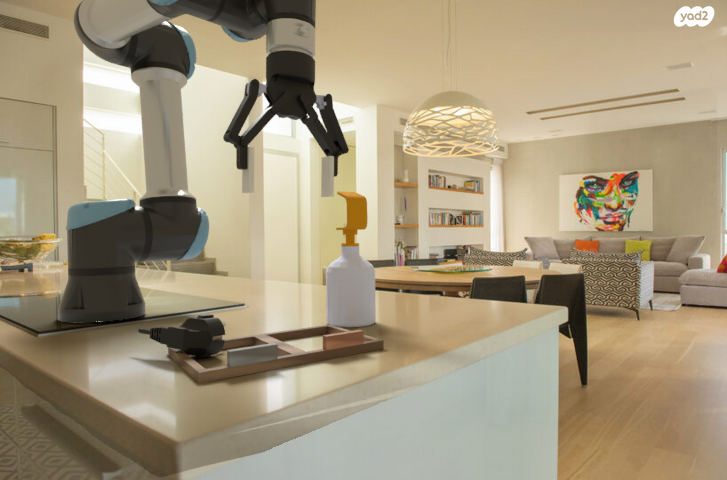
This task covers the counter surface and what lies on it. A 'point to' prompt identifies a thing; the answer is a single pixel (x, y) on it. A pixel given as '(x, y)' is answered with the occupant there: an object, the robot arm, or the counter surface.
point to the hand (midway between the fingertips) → (289, 195)
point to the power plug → (192, 335)
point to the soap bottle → (351, 274)
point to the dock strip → (278, 351)
